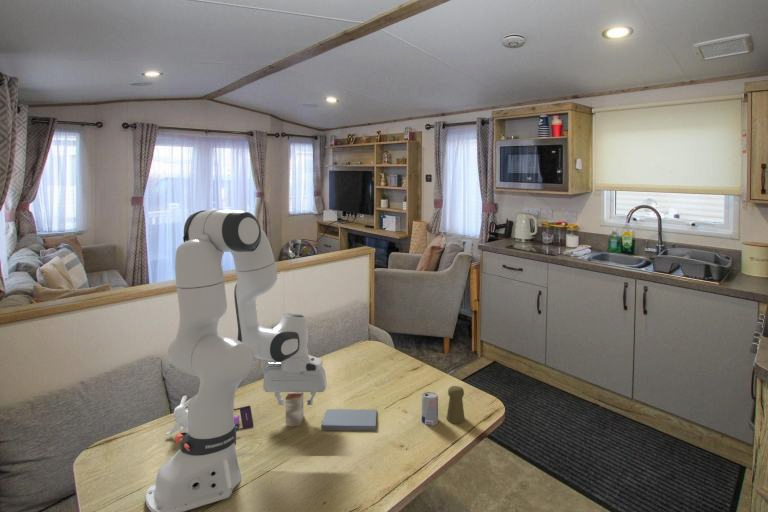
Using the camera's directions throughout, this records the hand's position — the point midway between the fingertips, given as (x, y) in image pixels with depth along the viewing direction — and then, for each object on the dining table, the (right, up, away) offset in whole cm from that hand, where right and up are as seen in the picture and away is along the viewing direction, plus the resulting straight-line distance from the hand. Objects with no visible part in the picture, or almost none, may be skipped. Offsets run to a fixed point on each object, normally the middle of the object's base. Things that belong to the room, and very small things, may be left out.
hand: (295, 404), depth 138 cm
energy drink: (+44, -9, 0) cm, 45 cm away
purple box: (-14, -4, -1) cm, 14 cm away
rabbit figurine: (-32, -6, -5) cm, 33 cm away
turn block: (0, -6, 0) cm, 6 cm away
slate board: (+18, -6, 0) cm, 19 cm away
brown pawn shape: (+52, -6, +1) cm, 53 cm away
